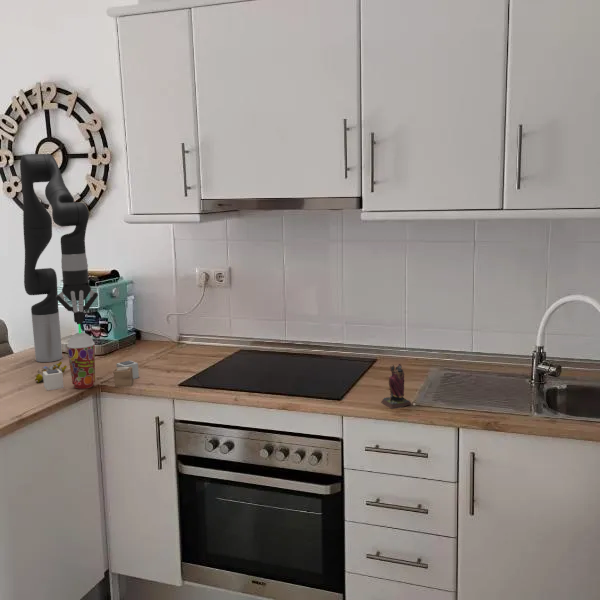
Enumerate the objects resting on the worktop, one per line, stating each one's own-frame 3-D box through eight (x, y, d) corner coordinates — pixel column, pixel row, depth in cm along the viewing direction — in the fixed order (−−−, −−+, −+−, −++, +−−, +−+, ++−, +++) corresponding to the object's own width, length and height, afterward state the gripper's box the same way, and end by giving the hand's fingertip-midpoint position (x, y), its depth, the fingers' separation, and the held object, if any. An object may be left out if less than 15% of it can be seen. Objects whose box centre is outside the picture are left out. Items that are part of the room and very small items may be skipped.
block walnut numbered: (117, 382, 224) (116, 366, 223) (133, 381, 224) (132, 365, 223) (114, 387, 219) (113, 370, 218) (131, 386, 219) (129, 370, 218)
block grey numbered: (117, 378, 229) (116, 362, 228) (130, 375, 232) (129, 359, 231) (125, 381, 225) (124, 365, 224) (138, 377, 229) (137, 362, 228)
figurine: (412, 406, 195) (412, 364, 192) (391, 409, 192) (391, 367, 190) (401, 399, 201) (401, 359, 198) (380, 402, 198) (380, 361, 196)
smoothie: (79, 391, 214) (74, 328, 211) (65, 386, 220) (60, 324, 217) (103, 385, 221) (98, 323, 217) (88, 380, 226) (84, 320, 223)
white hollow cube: (44, 386, 221) (42, 370, 220) (60, 384, 223) (59, 368, 223) (47, 390, 217) (45, 374, 216) (63, 388, 219) (62, 371, 218)
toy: (72, 365, 238) (50, 375, 224) (64, 377, 239) (41, 387, 225) (60, 356, 239) (37, 365, 224) (52, 367, 240) (29, 377, 225)
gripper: (96, 265, 219) (100, 319, 222) (51, 268, 215) (56, 323, 218) (98, 268, 213) (102, 324, 216) (52, 271, 208) (57, 328, 211)
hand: (79, 323), depth 217 cm, fingers closed
